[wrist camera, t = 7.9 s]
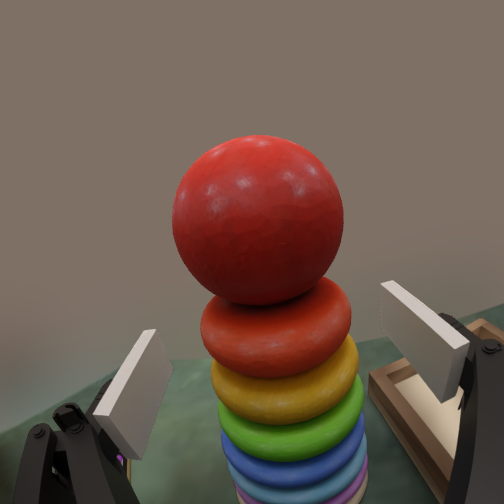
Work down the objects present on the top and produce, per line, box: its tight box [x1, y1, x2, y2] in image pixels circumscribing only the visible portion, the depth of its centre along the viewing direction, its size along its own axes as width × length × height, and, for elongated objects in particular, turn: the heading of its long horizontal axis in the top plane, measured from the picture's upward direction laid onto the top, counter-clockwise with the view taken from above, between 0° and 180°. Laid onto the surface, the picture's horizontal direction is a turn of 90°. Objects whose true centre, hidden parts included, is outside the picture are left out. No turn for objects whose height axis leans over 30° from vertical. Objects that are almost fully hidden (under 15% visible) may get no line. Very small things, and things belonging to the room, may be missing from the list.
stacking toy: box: [172, 135, 368, 504], centre depth 10 cm, size 8×8×19 cm
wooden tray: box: [368, 318, 504, 504], centre depth 13 cm, size 13×13×2 cm
